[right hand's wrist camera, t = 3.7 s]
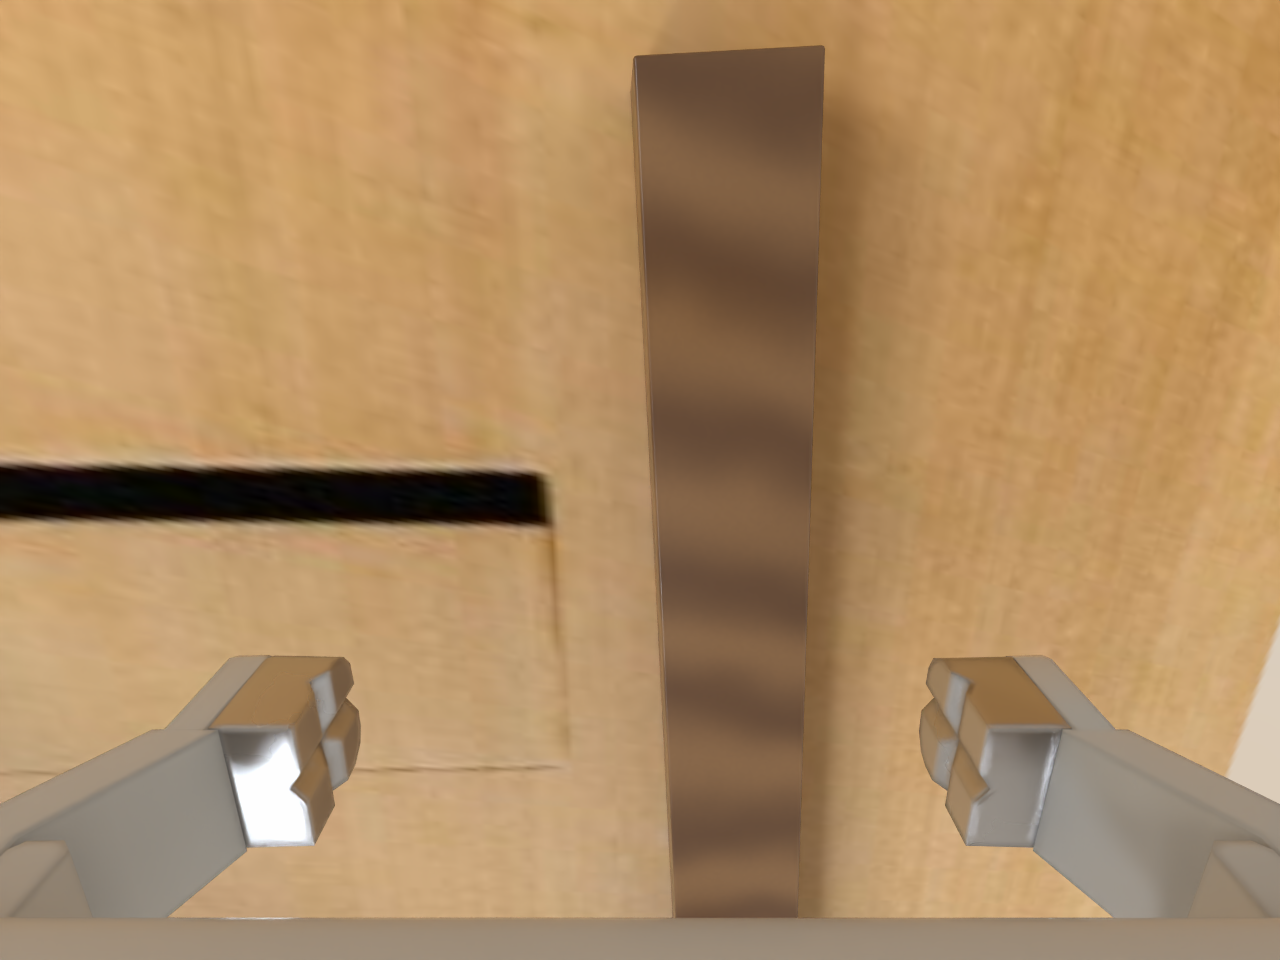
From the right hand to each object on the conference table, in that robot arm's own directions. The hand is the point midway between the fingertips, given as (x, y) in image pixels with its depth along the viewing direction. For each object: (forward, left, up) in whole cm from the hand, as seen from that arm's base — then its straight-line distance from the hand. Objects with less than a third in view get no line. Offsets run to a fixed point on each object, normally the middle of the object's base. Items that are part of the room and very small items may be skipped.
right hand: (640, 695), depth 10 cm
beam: (+26, -8, -20) cm, 34 cm away
